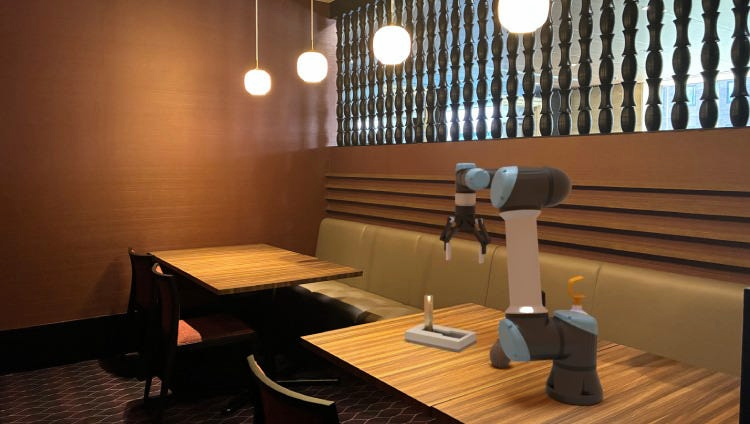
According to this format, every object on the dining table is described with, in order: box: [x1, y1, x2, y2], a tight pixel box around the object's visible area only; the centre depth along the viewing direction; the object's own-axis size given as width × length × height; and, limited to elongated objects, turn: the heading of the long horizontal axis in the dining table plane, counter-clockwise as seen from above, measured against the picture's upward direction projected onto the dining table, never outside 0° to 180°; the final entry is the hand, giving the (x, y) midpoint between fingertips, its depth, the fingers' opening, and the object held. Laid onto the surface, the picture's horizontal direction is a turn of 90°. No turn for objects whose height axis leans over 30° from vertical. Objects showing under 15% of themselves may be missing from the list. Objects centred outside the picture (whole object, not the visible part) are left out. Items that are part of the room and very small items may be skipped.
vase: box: [489, 337, 512, 369], centre depth 181 cm, size 7×7×9 cm
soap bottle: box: [567, 275, 589, 315], centre depth 203 cm, size 9×9×25 cm
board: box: [404, 322, 477, 353], centre depth 206 cm, size 14×22×4 cm, turn 54°
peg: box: [423, 294, 436, 333], centre depth 208 cm, size 6×6×16 cm
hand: (464, 261), depth 211 cm, fingers open, 13 cm apart
